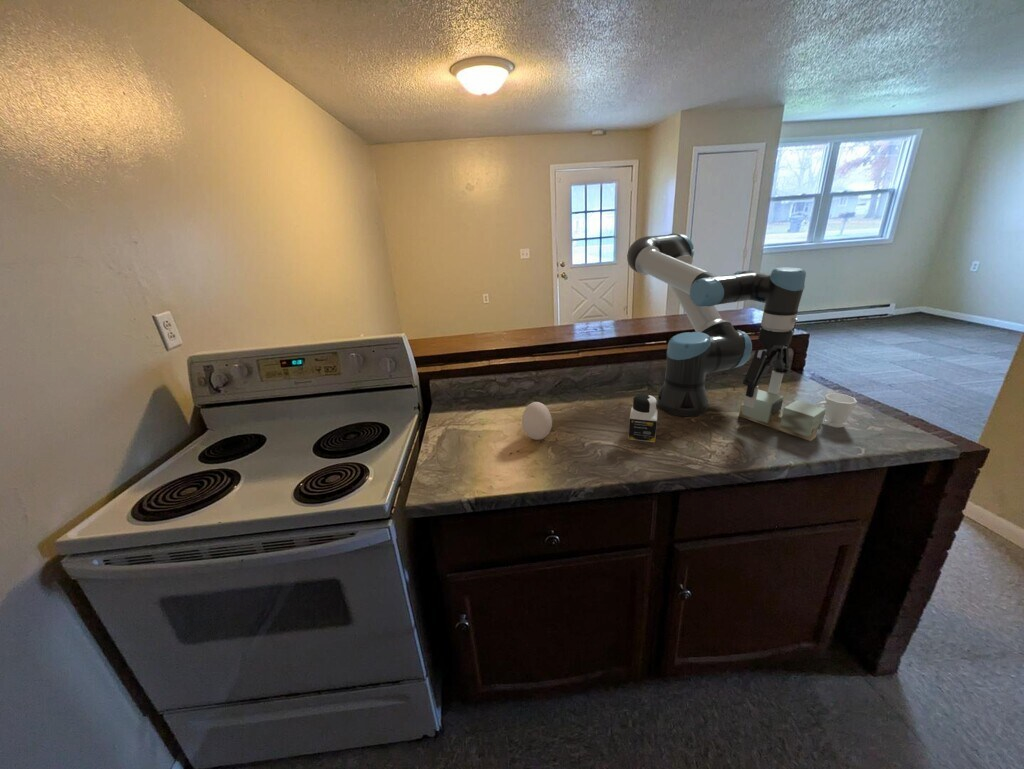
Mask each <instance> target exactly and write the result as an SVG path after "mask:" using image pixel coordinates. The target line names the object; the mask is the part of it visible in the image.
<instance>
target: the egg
mask: <svg viewBox="0 0 1024 769" xmlns="http://www.w3.org/2000/svg"><path fill="white" fill-rule="evenodd" d="M551 414H552V413H550V410H549V408H548V407H547V406H546V405H545V404H543V403H542V402H539V401H532V402H531V403H529V404H528V405H527V406H526V408H525V409H524V410H523V413H522V416H521V426H522V431H523V432H524V433H525V435H526V436H527V437H529V438H530V439H532V440H537V441H538V440H542V439H544V438H546V437H547V436H548V435H549V434H550V432H551V429H552V427H553V418H552V415H551Z"/></svg>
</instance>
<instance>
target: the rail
mask: <svg viewBox="0 0 1024 769" xmlns="http://www.w3.org/2000/svg"><path fill="white" fill-rule="evenodd" d="M743 403H744V402H743ZM743 403H741V404H740V407H739V414H738V417H739V418H742V419H746V420H749V421H752V422H755V423H757V424H760V425H763V426H766V427H769V428H772V429H774V430H777V431H781V432H783V433H786V434H789V435H791V436H795V437H797V438H800V439H803V440H806V441H809V442H812V441H813V440H814V439H815V438H816V437H817V434H818V431H819V430H821V429H822V425H823V424H822V422H824V419H825V411H826V409H825V407H822V406H819V407H818V406H815V405H816V404H815V405H814V404H811V403H807V402H804V401H801V400H797V399H796V400H794V401H793V402H791V403H789V404H788V405H786V406H784V408H783V411H782V412H781V411H780V412H778V411H777V412H775V413H774V414H772V415H770V419H769V422H768V423H766V422H763V421H760V420H757V419H754V418H751V417H748V416H746V415H743V414H742V412H743V406H744V405H743Z"/></svg>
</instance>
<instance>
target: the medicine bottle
mask: <svg viewBox="0 0 1024 769" xmlns="http://www.w3.org/2000/svg"><path fill="white" fill-rule="evenodd" d="M632 401H633V402H632V406H631V409H630V413H629V423H628V440H631V441H639V442H647V443H655V442H656V438H657V437H656V436H657V425H658V411H659V410H658V408H657V398H655V397H654V396H653V395H651V394H646V393H643V394H638V395H635V396H634V397H633V400H632Z"/></svg>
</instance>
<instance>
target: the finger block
mask: <svg viewBox="0 0 1024 769" xmlns="http://www.w3.org/2000/svg"><path fill="white" fill-rule="evenodd" d="M783 401H784V396H783V395H779V394H774V393H771V392H768V391H765V390H761V389H759V388H758V393H757V398H756V402H755V407H754V408H751V407H748V406H745V405H744V406H743V412H742V414H743V415H746V416H748V417H751V418H754V419H757V420H760V421H763V422H766V423H768V422H769V419H770V415H772V414H774V413H775V412H777V411H778V412H781V410H782V405H783V403H784V402H783Z"/></svg>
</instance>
